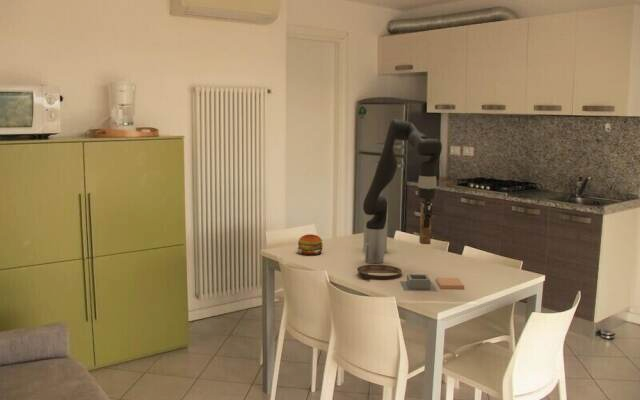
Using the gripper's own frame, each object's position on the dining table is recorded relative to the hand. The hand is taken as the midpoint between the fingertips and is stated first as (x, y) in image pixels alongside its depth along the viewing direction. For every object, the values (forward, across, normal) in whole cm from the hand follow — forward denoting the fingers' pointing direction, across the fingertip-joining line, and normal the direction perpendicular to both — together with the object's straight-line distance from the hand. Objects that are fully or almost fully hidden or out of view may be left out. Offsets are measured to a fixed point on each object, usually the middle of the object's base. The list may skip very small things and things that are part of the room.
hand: (425, 226), depth 256 cm
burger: (+28, -62, -49) cm, 84 cm away
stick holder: (+27, +1, -2) cm, 27 cm away
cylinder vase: (+28, -68, -14) cm, 74 cm away
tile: (+26, -8, +12) cm, 30 cm away
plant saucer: (+28, -18, -17) cm, 37 cm away
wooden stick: (+7, 0, 0) cm, 7 cm away
